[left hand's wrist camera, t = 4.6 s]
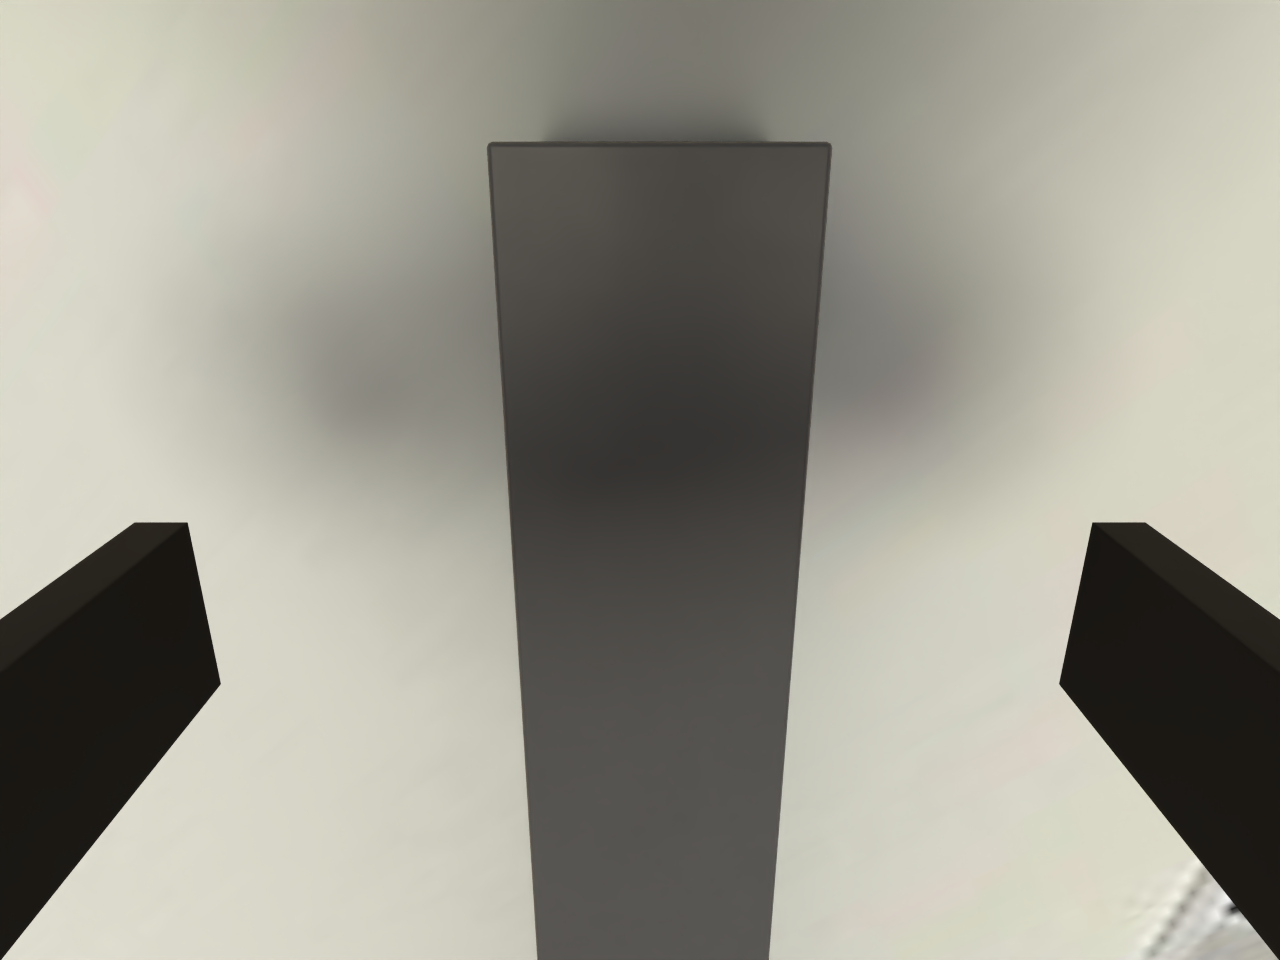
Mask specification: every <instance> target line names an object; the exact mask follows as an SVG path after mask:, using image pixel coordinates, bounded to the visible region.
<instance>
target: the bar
mask: <svg viewBox="0 0 1280 960" xmlns="http://www.w3.org/2000/svg"><path fill="white" fill-rule="evenodd" d="M831 155H832V146H831V144H830V143H828V142H491V143H489V144H488V146H487V156H488V172H489V188H490V204H491V220H492V236H493V252H494V268H495V284H496V300H497V317H498V333H499V349H500V365H501V381H502V397H503V413H504V429H505V445H506V461H507V477H508V493H509V509H510V525H511V541H512V558H513V574H514V590H515V606H516V622H517V638H518V654H519V670H520V686H521V702H522V718H523V734H524V750H525V766H526V782H527V798H528V815H529V831H530V847H531V863H532V879H533V895H534V911H535V927H536V943H537V959H538V960H769V949H770V937H771V924H772V911H773V898H774V885H775V872H776V860H777V847H778V834H779V821H780V808H781V796H782V783H783V770H784V757H785V744H786V731H787V719H788V706H789V693H790V680H791V667H792V655H793V642H794V629H795V616H796V603H797V590H798V578H799V565H800V552H801V539H802V526H803V514H804V501H805V488H806V475H807V462H808V450H809V437H810V424H811V411H812V398H813V385H814V373H815V360H816V347H817V334H818V321H819V309H820V296H821V283H822V270H823V257H824V244H825V232H826V219H827V206H828V193H829V180H830V168H831Z"/></svg>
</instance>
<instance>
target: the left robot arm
mask: <svg viewBox="0 0 1280 960" xmlns="http://www.w3.org/2000/svg"><path fill="white" fill-rule="evenodd" d="M220 684H221V683H220V678H219V673H218V668H217V663H216V658H215V653H214V649H213V644H212V639H211V634H210V629H209V624H208V620H207V615H206V610H205V605H204V600H203V595H202V590H201V586H200V581H199V576H198V571H197V566H196V561H195V556H194V552H193V547H192V542H191V537H190V532H189V527H188V523H133V524H132V525H131V526H129V527H128V528H126V529H125V530H124V531H122V532H121V533H120V534H118V535H117V536H115V537H114V538H113V539H111V540H110V541H108V542H107V543H106V544H104V545H103V546H102V547H100V548H99V549H97V550H96V551H95V552H93V553H92V554H90V555H89V556H88V557H86V558H85V559H83V560H82V561H81V562H79V563H78V564H77V565H75V566H74V567H72V568H71V569H70V570H68V571H67V572H65V573H64V574H63V575H61V576H60V577H59V578H57V579H56V580H54V581H53V582H52V583H50V584H49V585H47V586H46V587H45V588H43V589H42V590H41V591H39V592H38V593H36V594H35V595H34V596H32V597H31V598H29V599H28V600H27V601H25V602H24V603H22V604H21V605H20V606H18V607H17V608H16V609H14V610H13V611H11V612H10V613H9V614H7V615H6V616H4V617H3V618H2V619H0V960H1V959H2V958H3V957H4V956H5V954H6V953H7V952H8V950H9V949H10V948H11V947H12V945H13V944H14V943H15V942H16V940H17V939H18V938H19V937H20V935H21V934H22V933H23V932H24V930H25V929H26V928H27V927H28V925H29V924H30V923H31V922H32V920H33V919H34V918H35V917H36V915H37V914H38V913H39V912H40V910H41V909H42V908H43V907H44V905H45V904H46V903H47V902H48V900H49V899H50V898H51V897H52V895H53V894H54V893H55V892H56V890H57V889H58V888H59V886H60V885H61V884H62V883H63V881H64V880H65V879H66V878H67V876H68V875H69V874H70V873H71V871H72V870H73V869H74V868H75V866H76V865H77V864H78V863H79V861H80V860H81V859H82V858H83V856H84V855H85V854H86V853H87V851H88V850H89V849H90V848H91V846H92V845H93V844H94V843H95V841H96V840H97V839H98V838H99V836H100V835H101V834H102V833H103V831H104V830H105V829H106V828H107V826H108V825H109V824H110V823H111V821H112V820H113V819H114V817H115V816H116V815H117V814H118V812H119V811H120V810H121V809H122V807H123V806H124V805H125V804H126V802H127V801H128V800H129V799H130V797H131V796H132V795H133V794H134V792H135V791H136V790H137V789H138V787H139V786H140V785H141V784H142V782H143V781H144V780H145V779H146V777H147V776H148V775H149V774H150V772H151V771H152V770H153V769H154V767H155V766H156V765H157V764H158V762H159V761H160V760H161V759H162V757H163V756H164V755H165V753H166V752H167V751H168V750H169V748H170V747H171V746H172V745H173V743H174V742H175V741H176V740H177V738H178V737H179V736H180V735H181V733H182V732H183V731H184V730H185V728H186V727H187V726H188V725H189V723H190V722H191V721H192V720H193V718H194V717H195V716H196V715H197V713H198V712H199V711H200V710H201V708H202V707H203V706H204V705H205V703H206V702H207V701H208V700H209V698H210V697H211V696H212V695H213V693H214V692H215V691H216V689H217V688H218V687H219V686H220ZM1059 684H1060V686H1061V687H1062V688H1063V690H1064V691H1065V692H1066V693H1067V695H1068V696H1069V697H1070V698H1071V700H1072V701H1073V702H1074V703H1075V705H1076V706H1077V707H1078V708H1079V710H1080V711H1081V712H1082V713H1083V715H1084V716H1085V717H1086V718H1087V720H1088V721H1089V722H1090V723H1091V725H1092V726H1093V727H1094V728H1095V730H1096V731H1097V732H1098V733H1099V735H1100V736H1101V737H1102V738H1103V740H1104V741H1105V742H1106V743H1107V745H1108V746H1109V747H1110V748H1111V750H1112V751H1113V752H1114V753H1115V755H1116V756H1117V757H1118V759H1119V760H1120V761H1121V762H1122V764H1123V765H1124V766H1125V767H1126V769H1127V770H1128V771H1129V772H1130V774H1131V775H1132V776H1133V777H1134V779H1135V780H1136V781H1137V782H1138V784H1139V785H1140V786H1141V787H1142V789H1143V790H1144V791H1145V792H1146V794H1147V795H1148V796H1149V797H1150V799H1151V800H1152V801H1153V802H1154V804H1155V805H1156V806H1157V807H1158V809H1159V810H1160V811H1161V812H1162V814H1163V815H1164V816H1165V817H1166V819H1167V820H1168V821H1169V823H1170V824H1171V825H1172V826H1173V828H1174V829H1175V830H1176V831H1177V833H1178V834H1179V835H1180V836H1181V838H1182V839H1183V840H1184V841H1185V843H1186V844H1187V845H1188V846H1189V848H1190V849H1191V850H1192V851H1193V853H1194V854H1195V855H1196V856H1197V858H1198V859H1199V860H1200V861H1201V863H1202V864H1203V865H1204V866H1205V868H1206V869H1207V870H1208V871H1209V873H1210V874H1211V875H1212V876H1213V878H1214V879H1215V880H1216V881H1217V883H1218V884H1219V885H1220V887H1221V888H1222V889H1223V890H1224V892H1225V893H1226V894H1227V895H1228V897H1229V898H1230V899H1231V900H1232V902H1233V903H1234V904H1235V905H1236V907H1237V908H1238V909H1239V910H1240V912H1241V913H1242V914H1243V915H1244V917H1245V918H1246V919H1247V920H1248V922H1249V923H1250V924H1251V925H1252V927H1253V928H1254V929H1255V930H1256V932H1257V933H1258V934H1259V935H1260V937H1261V938H1262V939H1263V940H1264V942H1265V943H1266V944H1267V945H1268V947H1269V948H1270V949H1271V950H1272V952H1273V953H1274V954H1275V956H1276V957H1277V958H1278V959H1279V960H1280V619H1278V618H1277V617H1276V616H1274V615H1273V614H1271V613H1270V612H1269V611H1267V610H1266V609H1264V608H1263V607H1262V606H1260V605H1259V604H1258V603H1256V602H1255V601H1253V600H1252V599H1251V598H1249V597H1248V596H1246V595H1245V594H1244V593H1242V592H1241V591H1239V590H1238V589H1237V588H1235V587H1234V586H1233V585H1231V584H1230V583H1228V582H1227V581H1226V580H1224V579H1223V578H1221V577H1220V576H1219V575H1217V574H1216V573H1215V572H1213V571H1212V570H1210V569H1209V568H1208V567H1206V566H1205V565H1203V564H1202V563H1201V562H1199V561H1198V560H1197V559H1195V558H1194V557H1192V556H1191V555H1190V554H1188V553H1187V552H1185V551H1184V550H1183V549H1181V548H1180V547H1178V546H1177V545H1176V544H1174V543H1173V542H1172V541H1170V540H1169V539H1167V538H1166V537H1165V536H1163V535H1162V534H1160V533H1159V532H1158V531H1156V530H1155V529H1154V528H1152V527H1151V526H1149V525H1148V524H1147V523H1092V527H1091V532H1090V537H1089V542H1088V547H1087V552H1086V556H1085V561H1084V566H1083V571H1082V576H1081V581H1080V586H1079V590H1078V595H1077V600H1076V605H1075V610H1074V615H1073V620H1072V624H1071V629H1070V634H1069V639H1068V644H1067V649H1066V653H1065V658H1064V663H1063V668H1062V673H1061V678H1060V683H1059Z"/></svg>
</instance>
